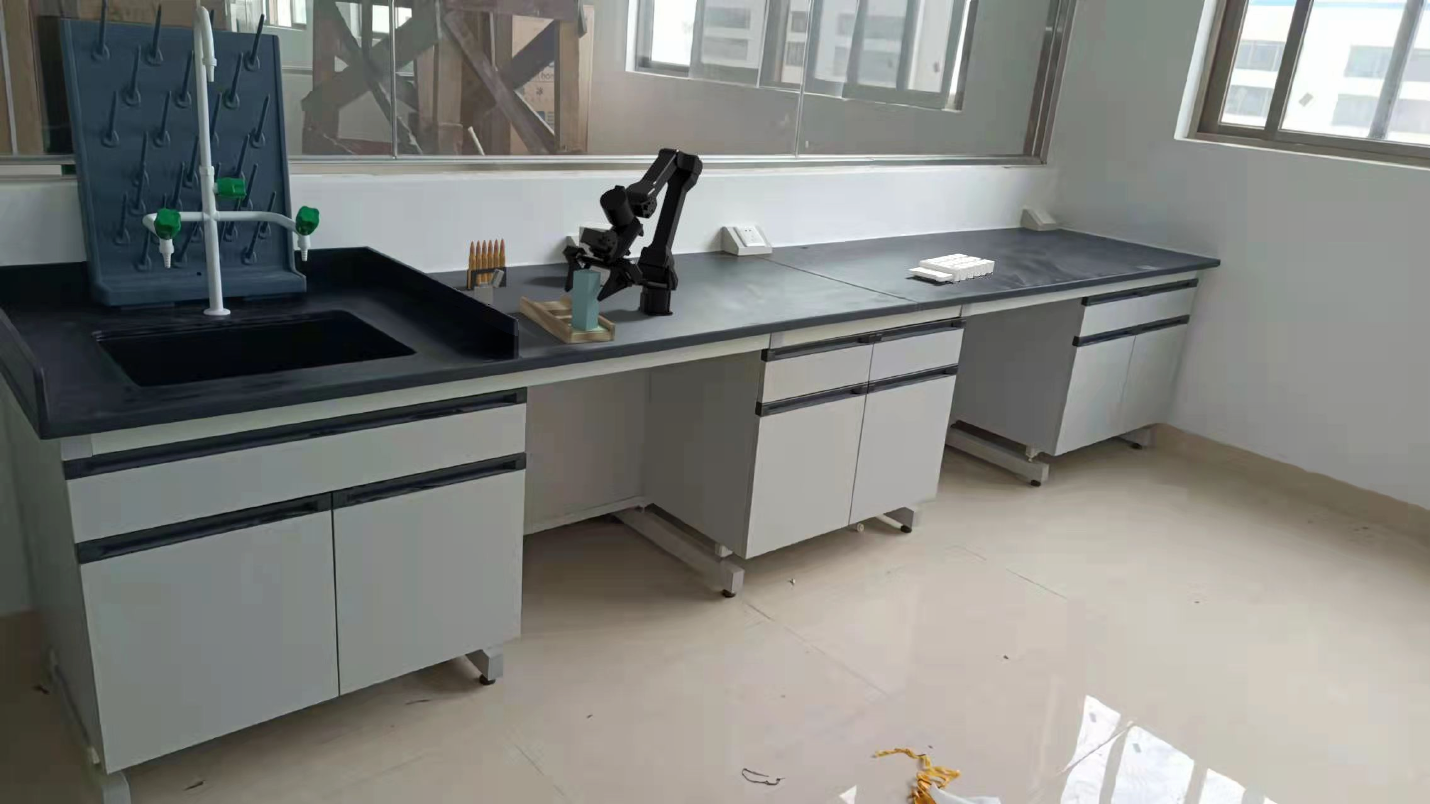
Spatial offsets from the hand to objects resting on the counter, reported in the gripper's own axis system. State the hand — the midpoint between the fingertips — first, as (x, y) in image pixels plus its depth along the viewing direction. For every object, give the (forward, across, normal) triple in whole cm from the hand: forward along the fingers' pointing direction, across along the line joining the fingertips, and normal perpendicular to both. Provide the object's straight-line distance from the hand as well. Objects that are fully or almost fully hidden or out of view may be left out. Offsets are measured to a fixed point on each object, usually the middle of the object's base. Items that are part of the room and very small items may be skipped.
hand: (581, 295), depth 209 cm
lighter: (+4, -32, +9) cm, 34 cm away
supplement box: (-24, -34, +38) cm, 56 cm away
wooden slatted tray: (+3, -10, +10) cm, 15 cm away
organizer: (-98, +21, +112) cm, 150 cm away
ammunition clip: (-3, -44, +17) cm, 47 cm away
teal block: (+4, 0, +6) cm, 7 cm away
